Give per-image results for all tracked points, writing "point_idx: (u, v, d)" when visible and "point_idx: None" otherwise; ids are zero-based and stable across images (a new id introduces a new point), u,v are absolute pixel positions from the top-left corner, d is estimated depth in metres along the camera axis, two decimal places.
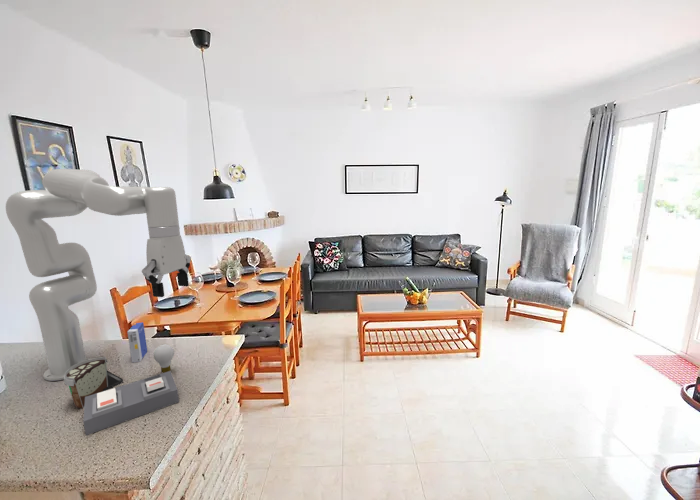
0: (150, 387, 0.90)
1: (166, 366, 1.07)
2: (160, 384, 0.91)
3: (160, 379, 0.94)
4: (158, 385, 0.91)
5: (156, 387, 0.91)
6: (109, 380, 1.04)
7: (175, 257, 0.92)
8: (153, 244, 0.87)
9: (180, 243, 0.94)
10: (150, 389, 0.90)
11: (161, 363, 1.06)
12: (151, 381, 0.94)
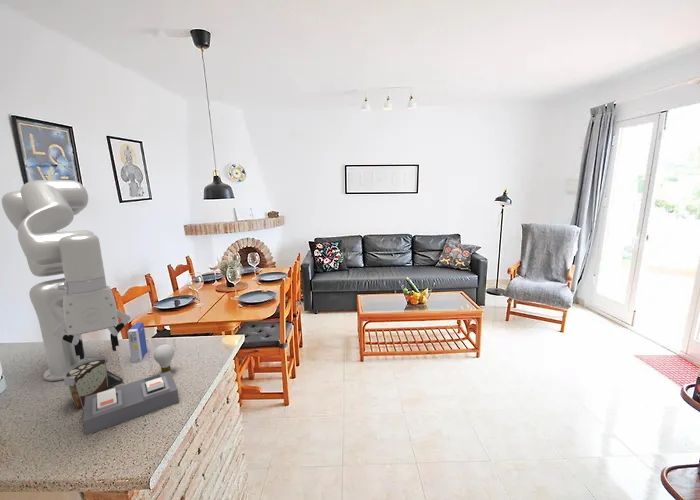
0: (150, 387, 0.90)
1: (166, 366, 1.07)
2: (160, 384, 0.91)
3: (160, 379, 0.94)
4: (158, 385, 0.91)
5: (156, 387, 0.91)
6: (109, 380, 1.04)
7: None
8: None
9: None
10: (150, 389, 0.90)
11: (161, 363, 1.06)
12: (151, 381, 0.94)
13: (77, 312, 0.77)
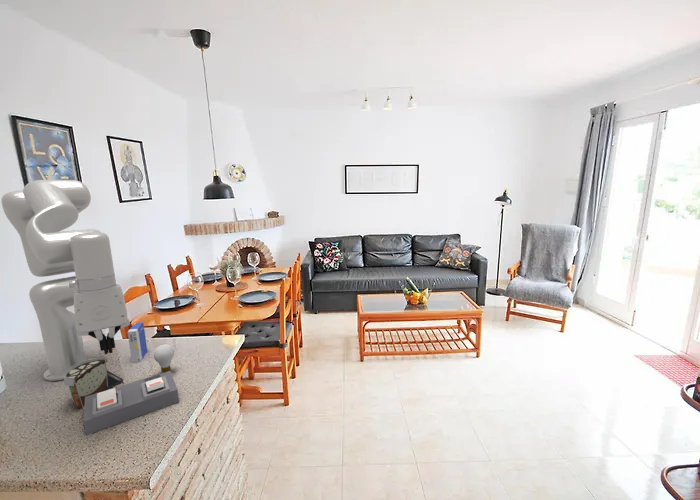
0: (150, 387, 0.90)
1: (166, 366, 1.07)
2: (160, 384, 0.91)
3: (160, 379, 0.94)
4: (158, 385, 0.91)
5: (156, 387, 0.91)
6: (109, 380, 1.04)
7: None
8: (121, 289, 0.84)
9: None
10: (150, 389, 0.90)
11: (161, 363, 1.06)
12: (151, 381, 0.94)
13: (87, 310, 0.78)
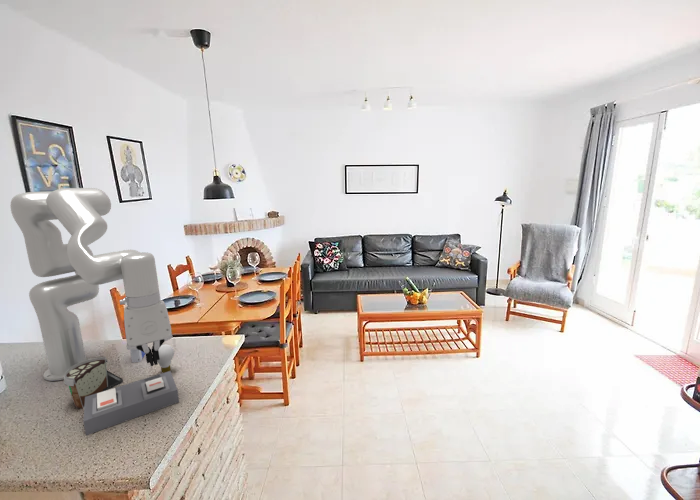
0: (150, 387, 0.90)
1: (166, 366, 1.07)
2: (160, 384, 0.91)
3: (160, 379, 0.94)
4: (158, 385, 0.91)
5: (156, 387, 0.91)
6: (109, 380, 1.04)
7: None
8: None
9: None
10: (150, 389, 0.90)
11: (161, 363, 1.06)
12: (151, 381, 0.94)
13: (137, 325, 0.84)
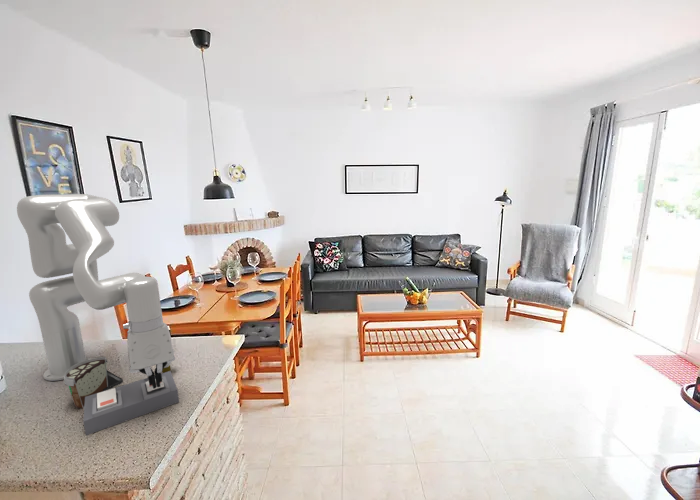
0: (150, 387, 0.90)
1: (166, 366, 1.07)
2: (160, 384, 0.91)
3: None
4: None
5: (156, 387, 0.91)
6: (109, 380, 1.04)
7: None
8: None
9: None
10: (150, 389, 0.90)
11: None
12: None
13: (140, 349, 0.85)
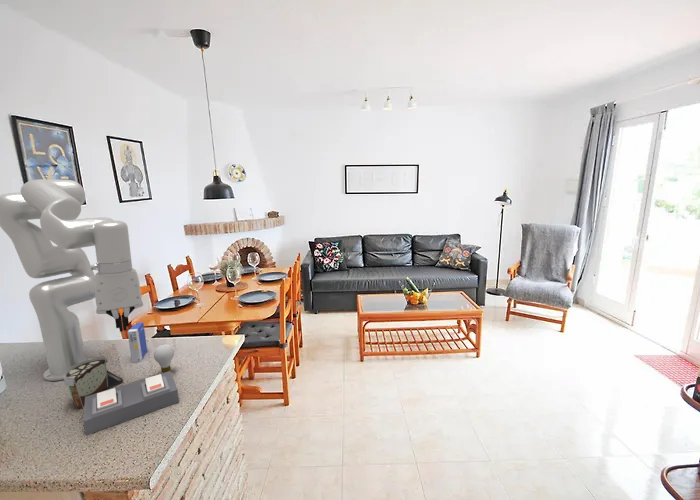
0: (151, 391, 0.90)
1: (166, 366, 1.07)
2: (161, 388, 0.92)
3: (160, 379, 0.94)
4: (159, 389, 0.91)
5: None
6: (109, 380, 1.04)
7: None
8: None
9: None
10: (150, 392, 0.90)
11: (161, 363, 1.06)
12: (151, 380, 0.93)
13: (107, 291, 0.86)
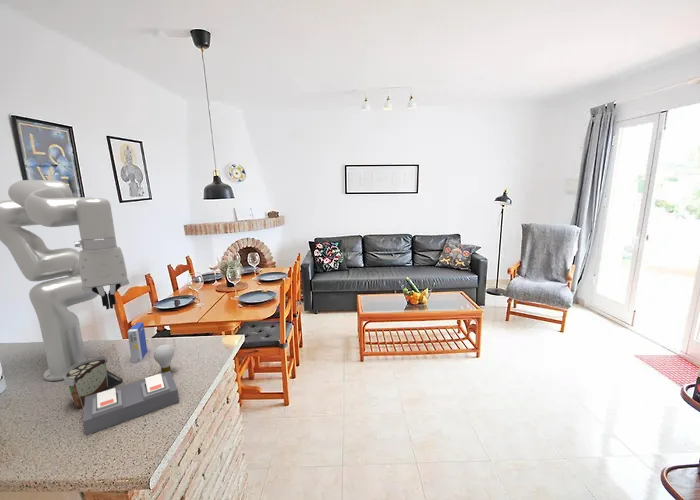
0: (151, 392, 0.90)
1: (166, 366, 1.07)
2: (161, 389, 0.92)
3: (160, 379, 0.94)
4: (159, 389, 0.91)
5: None
6: (109, 380, 1.04)
7: None
8: None
9: None
10: None
11: (161, 363, 1.06)
12: (151, 379, 0.93)
13: (91, 267, 0.87)
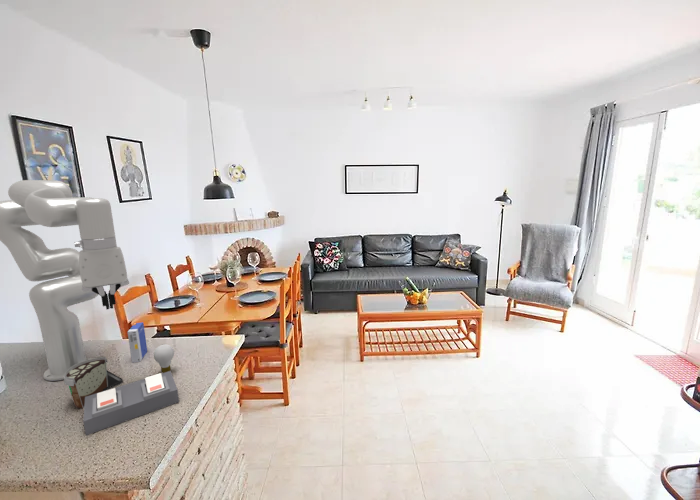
0: (151, 392, 0.90)
1: (166, 366, 1.07)
2: (161, 389, 0.92)
3: (160, 379, 0.94)
4: None
5: None
6: (109, 380, 1.04)
7: None
8: None
9: None
10: None
11: (161, 363, 1.06)
12: (151, 379, 0.93)
13: (91, 267, 0.87)
